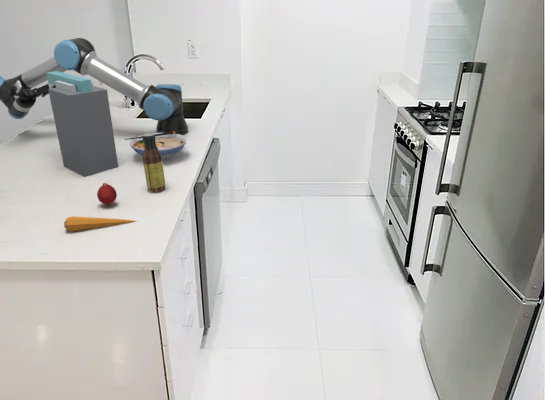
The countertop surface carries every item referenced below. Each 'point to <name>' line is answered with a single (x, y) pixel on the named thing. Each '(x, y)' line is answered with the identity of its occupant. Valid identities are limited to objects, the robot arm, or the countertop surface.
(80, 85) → the teal rectangular bar
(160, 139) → the ramen bowl
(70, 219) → the carrot
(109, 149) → the block
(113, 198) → the onion
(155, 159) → the sauce bottle
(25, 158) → the countertop surface
